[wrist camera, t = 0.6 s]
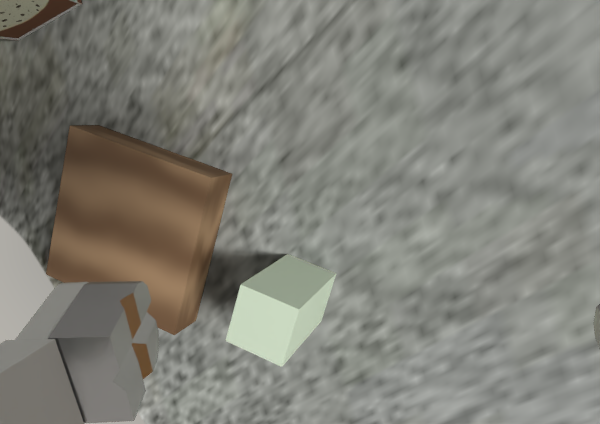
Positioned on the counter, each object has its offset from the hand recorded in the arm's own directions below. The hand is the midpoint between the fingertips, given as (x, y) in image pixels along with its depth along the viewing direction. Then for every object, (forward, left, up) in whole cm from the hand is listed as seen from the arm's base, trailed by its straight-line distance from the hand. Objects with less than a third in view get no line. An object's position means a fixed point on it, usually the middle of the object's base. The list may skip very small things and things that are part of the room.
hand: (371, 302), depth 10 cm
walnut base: (+16, -28, -36) cm, 48 cm away
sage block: (+16, -10, -36) cm, 41 cm away
